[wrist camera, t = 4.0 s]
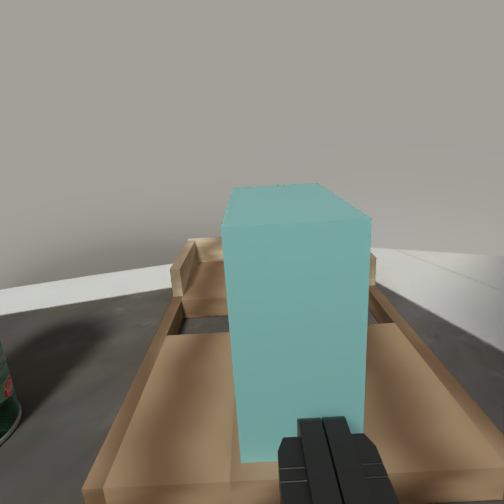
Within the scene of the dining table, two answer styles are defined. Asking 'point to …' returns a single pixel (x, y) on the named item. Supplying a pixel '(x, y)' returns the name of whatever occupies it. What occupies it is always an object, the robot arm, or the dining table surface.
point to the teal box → (295, 310)
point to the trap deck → (225, 415)
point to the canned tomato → (7, 401)
